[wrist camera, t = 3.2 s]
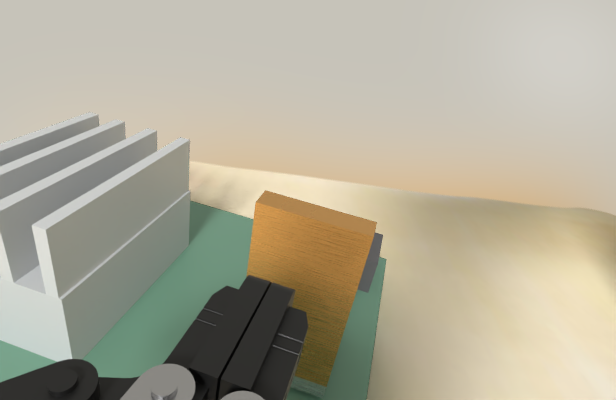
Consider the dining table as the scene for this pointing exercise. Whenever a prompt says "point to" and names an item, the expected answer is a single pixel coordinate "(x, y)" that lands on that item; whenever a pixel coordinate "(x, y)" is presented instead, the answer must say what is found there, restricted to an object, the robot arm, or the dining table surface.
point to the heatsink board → (191, 298)
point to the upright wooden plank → (311, 272)
